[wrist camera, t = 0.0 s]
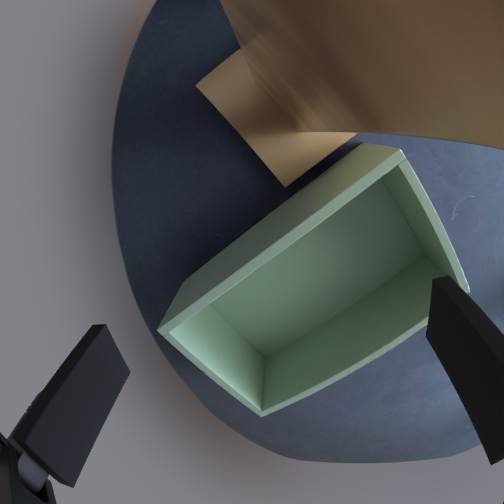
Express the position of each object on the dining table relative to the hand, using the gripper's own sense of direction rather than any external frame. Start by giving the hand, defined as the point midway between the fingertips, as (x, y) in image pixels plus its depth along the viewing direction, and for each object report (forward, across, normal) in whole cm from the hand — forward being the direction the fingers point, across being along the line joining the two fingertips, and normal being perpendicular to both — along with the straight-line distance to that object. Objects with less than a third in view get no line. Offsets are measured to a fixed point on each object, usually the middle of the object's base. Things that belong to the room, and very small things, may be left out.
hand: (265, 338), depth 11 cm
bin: (+19, +3, -6) cm, 20 cm away
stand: (+19, +3, +10) cm, 21 cm away
